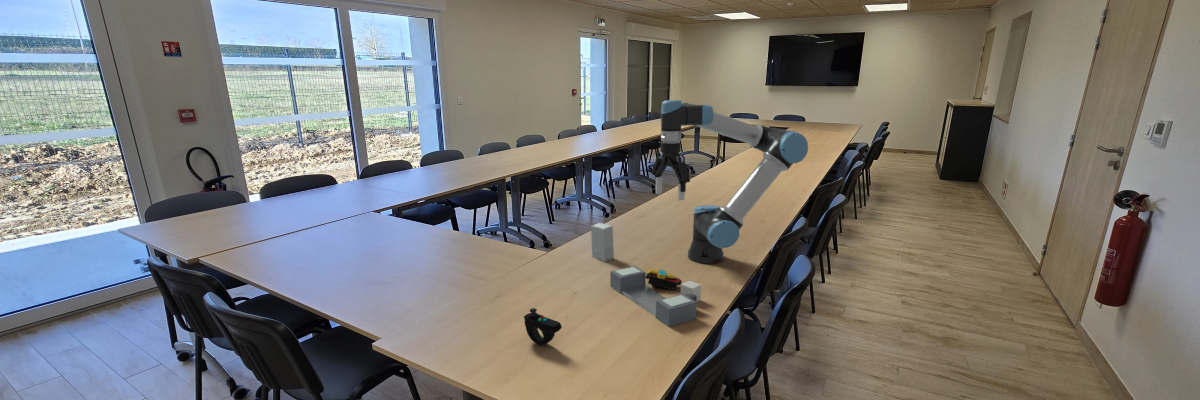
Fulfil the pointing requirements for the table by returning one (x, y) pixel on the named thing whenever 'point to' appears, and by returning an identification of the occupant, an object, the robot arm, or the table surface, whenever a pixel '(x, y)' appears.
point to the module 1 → (627, 278)
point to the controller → (540, 327)
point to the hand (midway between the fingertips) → (669, 196)
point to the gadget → (662, 279)
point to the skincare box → (602, 241)
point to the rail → (643, 297)
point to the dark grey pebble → (692, 296)
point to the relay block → (691, 289)
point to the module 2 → (676, 310)
